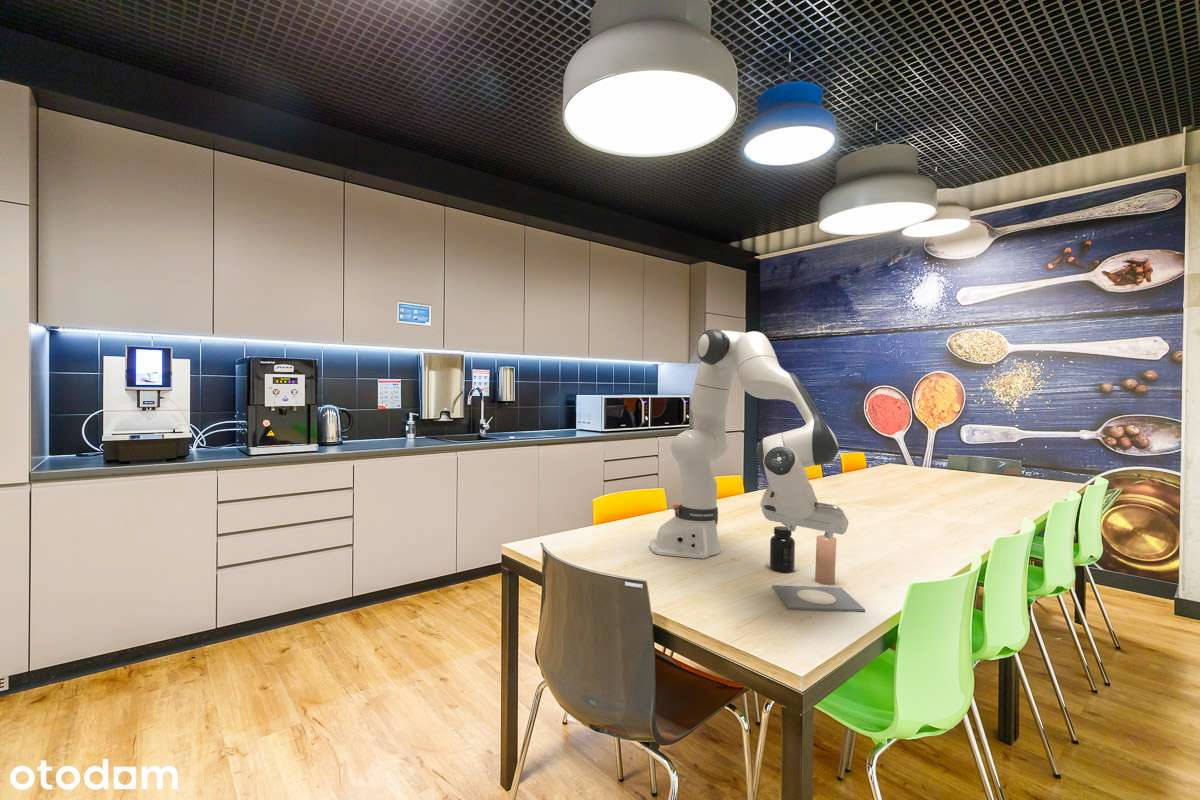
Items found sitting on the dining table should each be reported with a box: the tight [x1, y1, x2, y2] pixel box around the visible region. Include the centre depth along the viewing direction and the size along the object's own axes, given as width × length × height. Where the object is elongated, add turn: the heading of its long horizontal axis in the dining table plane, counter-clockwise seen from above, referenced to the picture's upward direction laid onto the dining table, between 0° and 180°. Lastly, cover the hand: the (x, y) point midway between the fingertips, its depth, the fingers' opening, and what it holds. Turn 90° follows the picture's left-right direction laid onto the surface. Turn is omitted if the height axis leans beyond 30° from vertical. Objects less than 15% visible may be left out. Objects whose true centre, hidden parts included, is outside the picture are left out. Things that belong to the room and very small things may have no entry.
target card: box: [771, 584, 866, 612], centre depth 137 cm, size 18×14×1 cm
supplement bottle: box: [769, 525, 796, 573], centre depth 159 cm, size 7×7×12 cm
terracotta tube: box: [814, 534, 837, 586], centre depth 150 cm, size 5×5×12 cm
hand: (810, 532), depth 141 cm, fingers open, 8 cm apart
